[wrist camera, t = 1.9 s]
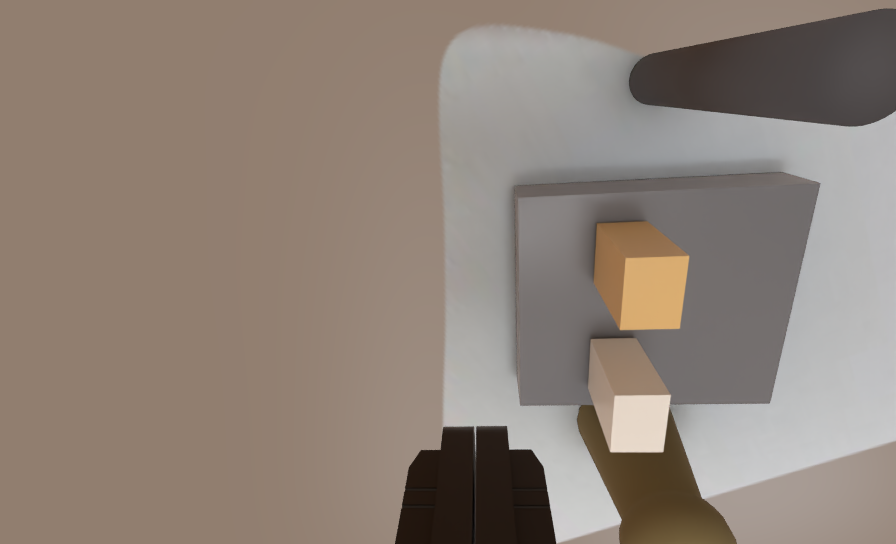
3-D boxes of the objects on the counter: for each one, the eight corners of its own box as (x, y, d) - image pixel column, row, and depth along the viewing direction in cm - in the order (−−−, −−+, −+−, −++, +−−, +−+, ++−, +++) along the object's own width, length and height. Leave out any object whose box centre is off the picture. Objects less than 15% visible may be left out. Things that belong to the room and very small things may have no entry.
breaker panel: (781, 172, 24) (820, 183, 22) (742, 373, 29) (769, 403, 26) (514, 185, 26) (518, 197, 23) (517, 376, 30) (520, 405, 28)
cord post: (681, 50, 23) (945, 3, 10) (676, 103, 24) (910, 123, 11) (631, 54, 23) (823, 13, 10) (627, 106, 24) (799, 130, 11)
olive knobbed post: (658, 369, 29) (750, 519, 19) (679, 441, 31) (774, 611, 21) (565, 396, 31) (606, 550, 20) (591, 463, 33) (641, 635, 22)
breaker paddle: (647, 221, 23) (689, 256, 18) (641, 281, 24) (679, 328, 19) (596, 223, 23) (625, 258, 18) (593, 283, 24) (620, 329, 19)
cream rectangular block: (636, 337, 25) (670, 395, 20) (631, 387, 26) (663, 452, 22) (590, 338, 25) (614, 395, 21) (588, 388, 26) (610, 452, 22)
